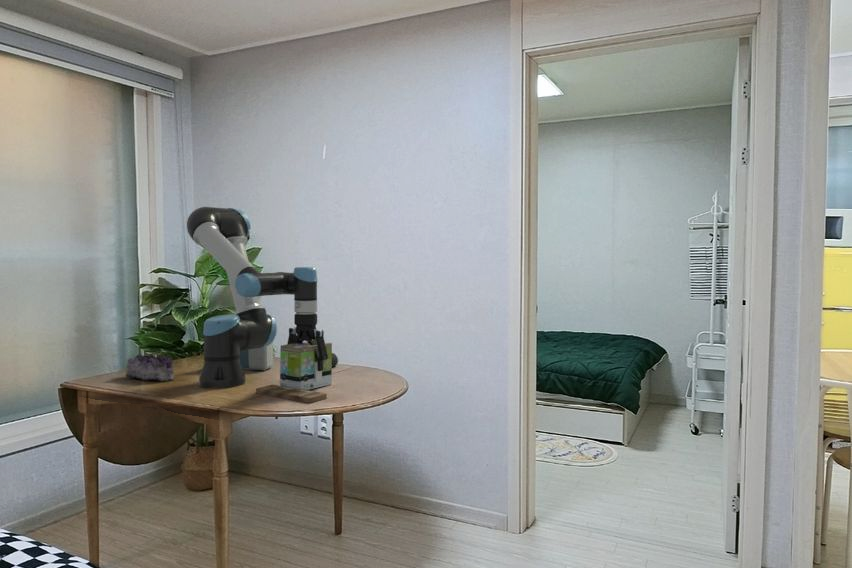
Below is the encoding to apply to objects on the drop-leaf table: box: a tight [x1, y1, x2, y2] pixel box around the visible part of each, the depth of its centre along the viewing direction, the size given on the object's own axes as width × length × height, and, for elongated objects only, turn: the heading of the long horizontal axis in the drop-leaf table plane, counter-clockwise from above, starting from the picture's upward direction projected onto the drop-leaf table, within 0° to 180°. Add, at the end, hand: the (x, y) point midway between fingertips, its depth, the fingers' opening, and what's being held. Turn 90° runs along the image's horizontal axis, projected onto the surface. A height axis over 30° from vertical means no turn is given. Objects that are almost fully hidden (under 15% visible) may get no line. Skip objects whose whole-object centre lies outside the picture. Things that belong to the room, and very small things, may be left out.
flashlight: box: [332, 352, 339, 368], centre depth 231 cm, size 15×5×5 cm, turn 148°
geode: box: [125, 353, 175, 383], centre depth 214 cm, size 20×12×10 cm, turn 65°
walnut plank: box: [255, 384, 328, 404], centre depth 187 cm, size 24×7×2 cm, turn 57°
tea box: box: [279, 341, 333, 391], centre depth 200 cm, size 15×10×15 cm, turn 147°
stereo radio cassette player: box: [240, 341, 274, 372], centre depth 232 cm, size 21×8×20 cm, turn 77°
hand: (306, 378), depth 200 cm, fingers closed on tea box, 10 cm apart
